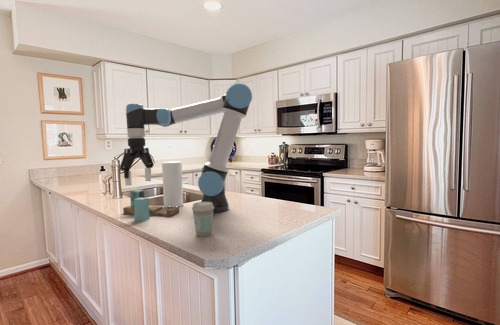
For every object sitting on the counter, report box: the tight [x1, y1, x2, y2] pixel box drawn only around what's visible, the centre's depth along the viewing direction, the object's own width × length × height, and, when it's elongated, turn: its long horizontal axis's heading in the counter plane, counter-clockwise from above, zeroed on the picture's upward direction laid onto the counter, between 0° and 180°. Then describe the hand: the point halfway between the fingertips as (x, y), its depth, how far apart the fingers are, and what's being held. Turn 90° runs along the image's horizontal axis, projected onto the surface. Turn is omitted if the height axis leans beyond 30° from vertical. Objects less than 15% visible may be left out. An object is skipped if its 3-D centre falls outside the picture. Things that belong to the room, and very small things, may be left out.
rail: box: [122, 189, 180, 217], centre depth 141 cm, size 28×7×12 cm, turn 74°
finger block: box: [133, 197, 150, 222], centre depth 130 cm, size 6×4×10 cm
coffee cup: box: [191, 201, 214, 238], centre depth 107 cm, size 9×9×12 cm
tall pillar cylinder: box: [161, 160, 184, 208], centre depth 157 cm, size 11×11×25 cm
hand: (138, 183), depth 130 cm, fingers open, 13 cm apart
